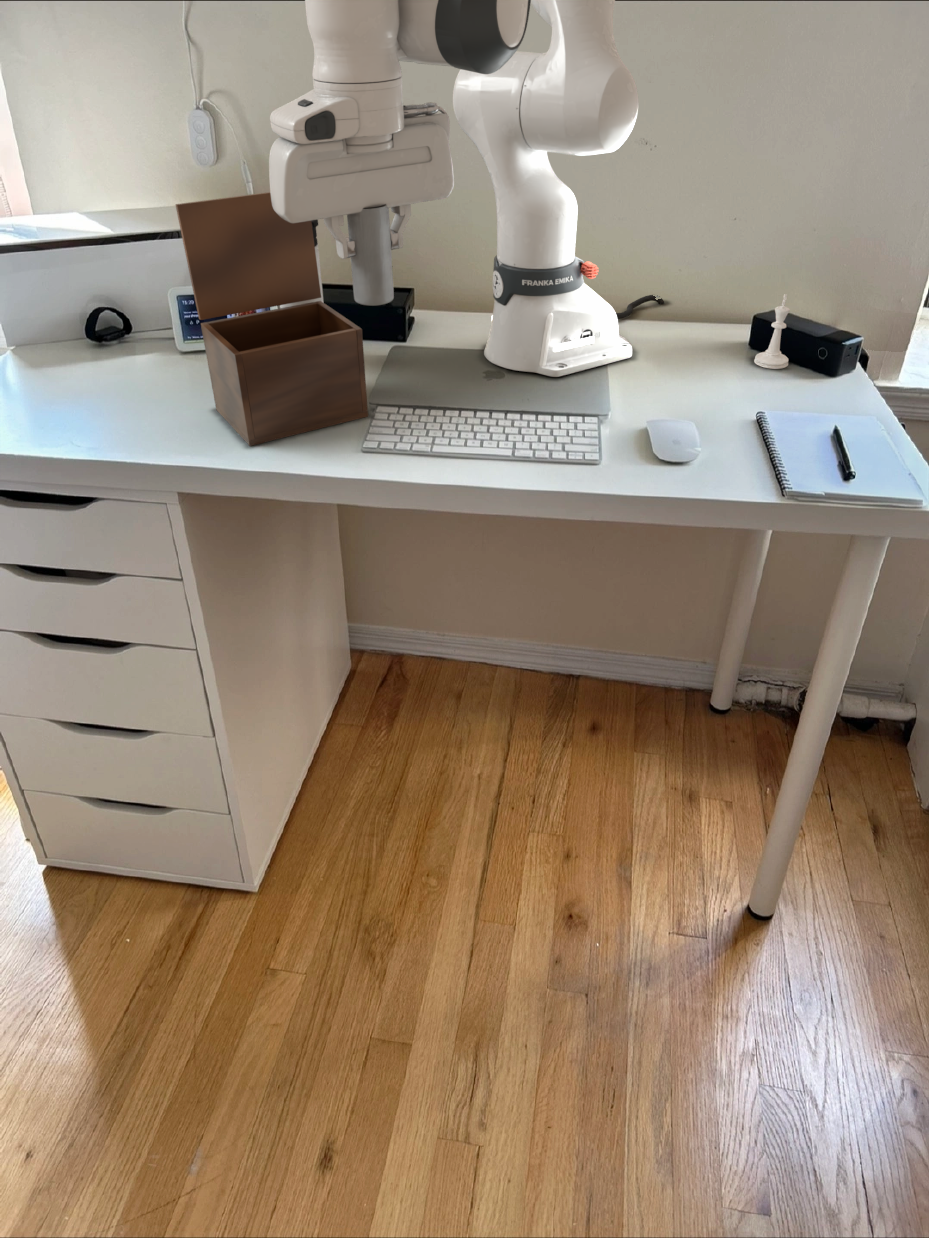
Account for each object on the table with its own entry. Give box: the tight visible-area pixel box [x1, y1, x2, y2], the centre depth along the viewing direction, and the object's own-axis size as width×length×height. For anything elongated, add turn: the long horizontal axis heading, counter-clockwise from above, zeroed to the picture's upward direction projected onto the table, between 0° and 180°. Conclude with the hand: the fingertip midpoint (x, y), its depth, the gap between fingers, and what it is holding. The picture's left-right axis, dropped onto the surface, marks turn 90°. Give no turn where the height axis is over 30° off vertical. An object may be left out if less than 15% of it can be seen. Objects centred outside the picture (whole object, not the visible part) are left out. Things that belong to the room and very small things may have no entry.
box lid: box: [174, 191, 321, 321], centre depth 113 cm, size 13×17×1 cm
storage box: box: [200, 301, 369, 447], centre depth 117 cm, size 13×17×12 cm
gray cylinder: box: [346, 204, 395, 306], centre depth 99 cm, size 4×4×10 cm
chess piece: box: [753, 294, 790, 370], centre depth 131 cm, size 5×5×10 cm
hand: (370, 252), depth 99 cm, fingers closed on gray cylinder, 4 cm apart
